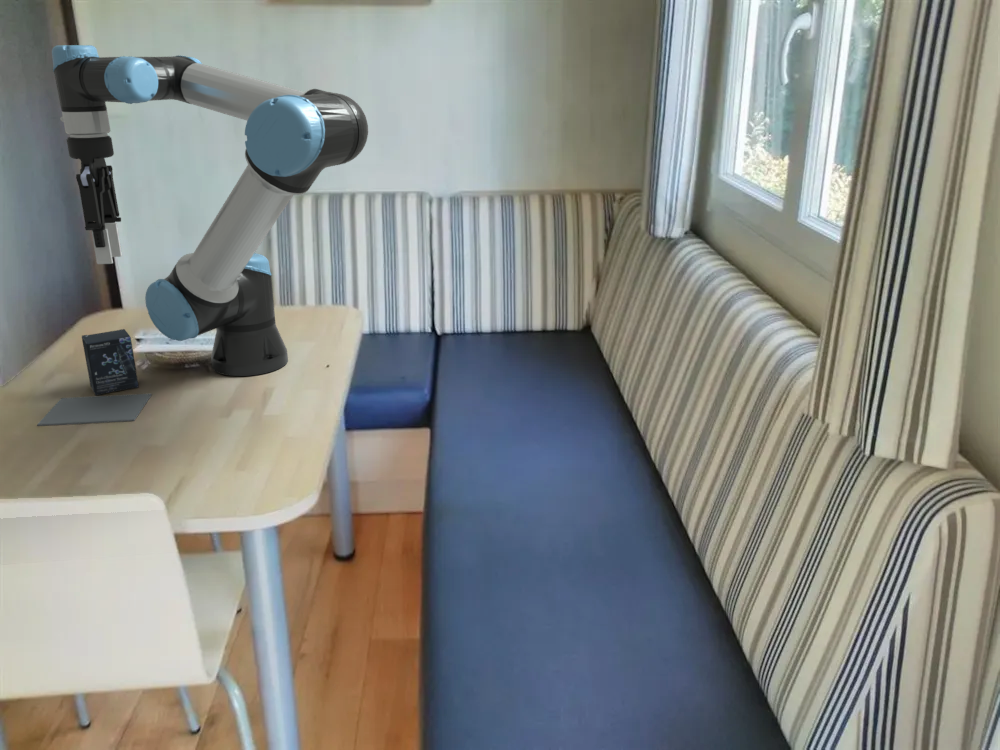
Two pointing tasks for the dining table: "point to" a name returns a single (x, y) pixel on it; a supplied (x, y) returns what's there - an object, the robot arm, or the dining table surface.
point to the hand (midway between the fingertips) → (109, 259)
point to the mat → (95, 409)
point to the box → (110, 361)
